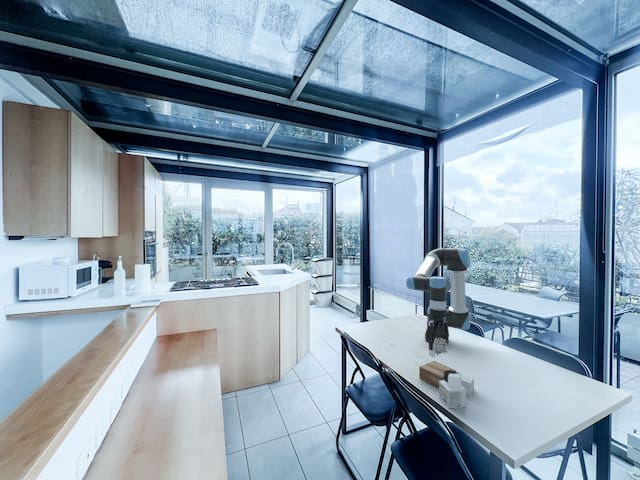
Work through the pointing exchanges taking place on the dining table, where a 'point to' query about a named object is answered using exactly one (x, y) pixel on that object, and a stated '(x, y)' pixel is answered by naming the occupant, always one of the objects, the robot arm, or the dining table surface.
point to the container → (452, 390)
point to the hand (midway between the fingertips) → (437, 354)
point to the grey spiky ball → (439, 346)
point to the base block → (433, 373)
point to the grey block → (467, 384)
